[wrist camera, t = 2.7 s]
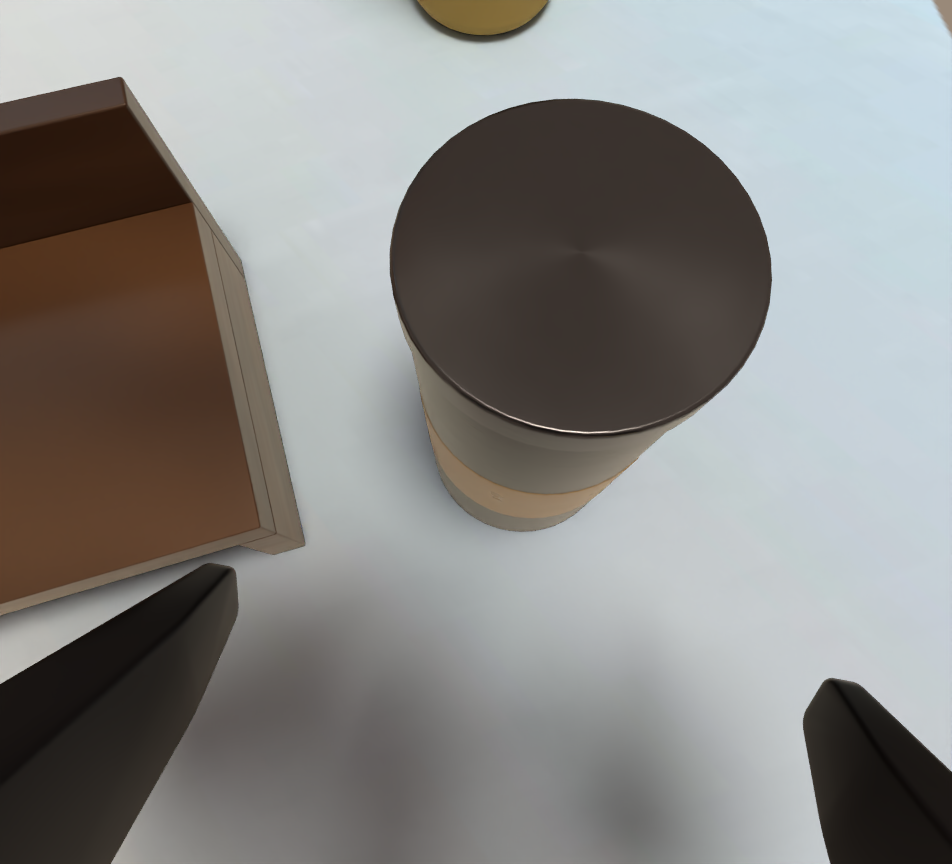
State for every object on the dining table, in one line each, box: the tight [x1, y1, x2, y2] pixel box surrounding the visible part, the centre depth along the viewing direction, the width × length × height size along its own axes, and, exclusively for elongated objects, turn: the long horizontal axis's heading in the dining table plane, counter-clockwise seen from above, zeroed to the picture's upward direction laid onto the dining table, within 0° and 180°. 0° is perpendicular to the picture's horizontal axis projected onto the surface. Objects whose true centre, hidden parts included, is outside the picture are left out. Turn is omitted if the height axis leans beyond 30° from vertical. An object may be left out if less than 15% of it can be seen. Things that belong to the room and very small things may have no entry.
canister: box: [390, 99, 772, 532], centre depth 17 cm, size 7×7×13 cm
